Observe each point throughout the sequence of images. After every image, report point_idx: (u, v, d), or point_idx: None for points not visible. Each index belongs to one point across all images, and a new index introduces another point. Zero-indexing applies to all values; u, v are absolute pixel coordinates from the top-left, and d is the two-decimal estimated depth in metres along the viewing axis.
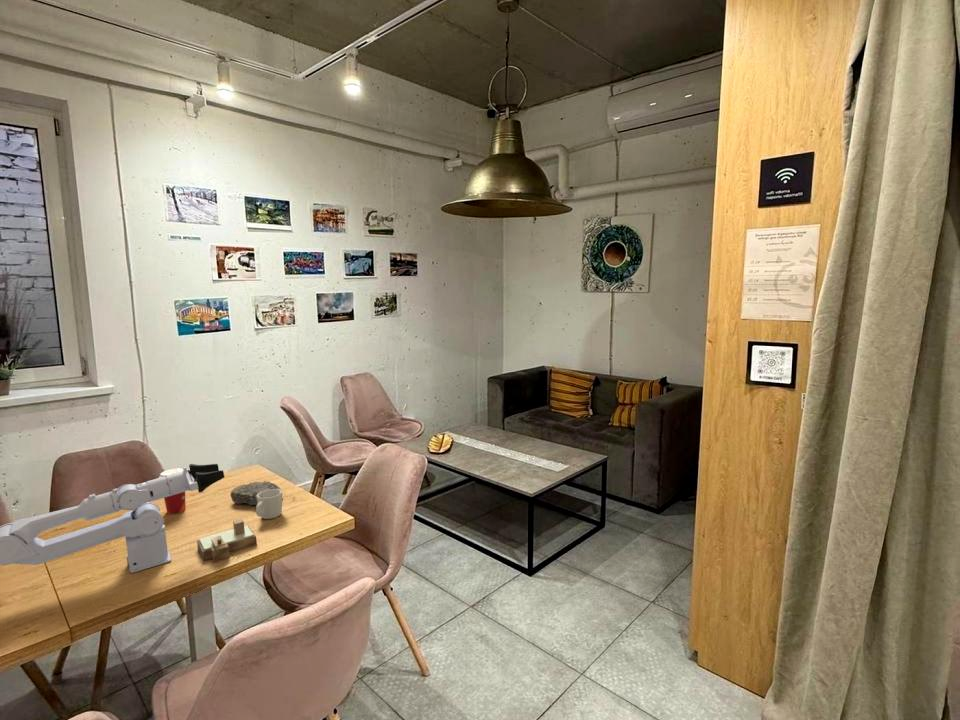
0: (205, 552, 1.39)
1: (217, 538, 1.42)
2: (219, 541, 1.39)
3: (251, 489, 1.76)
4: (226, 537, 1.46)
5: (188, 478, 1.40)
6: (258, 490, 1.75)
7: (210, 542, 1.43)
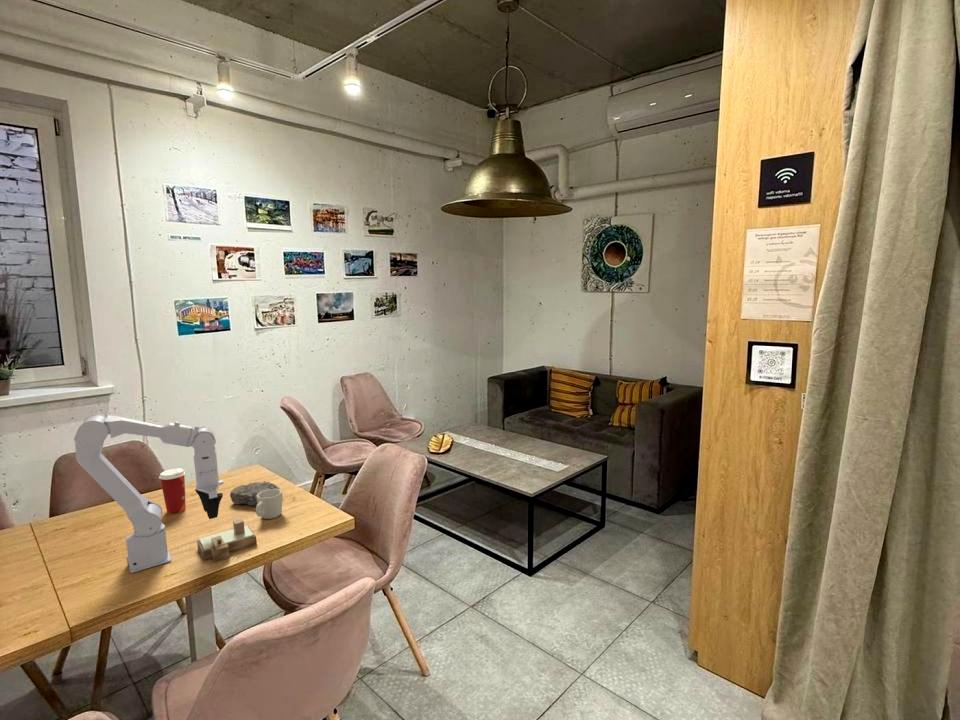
0: (205, 552, 1.39)
1: (217, 538, 1.42)
2: (219, 541, 1.39)
3: (250, 489, 1.76)
4: (226, 537, 1.46)
5: (217, 487, 1.43)
6: (258, 490, 1.74)
7: (210, 542, 1.43)
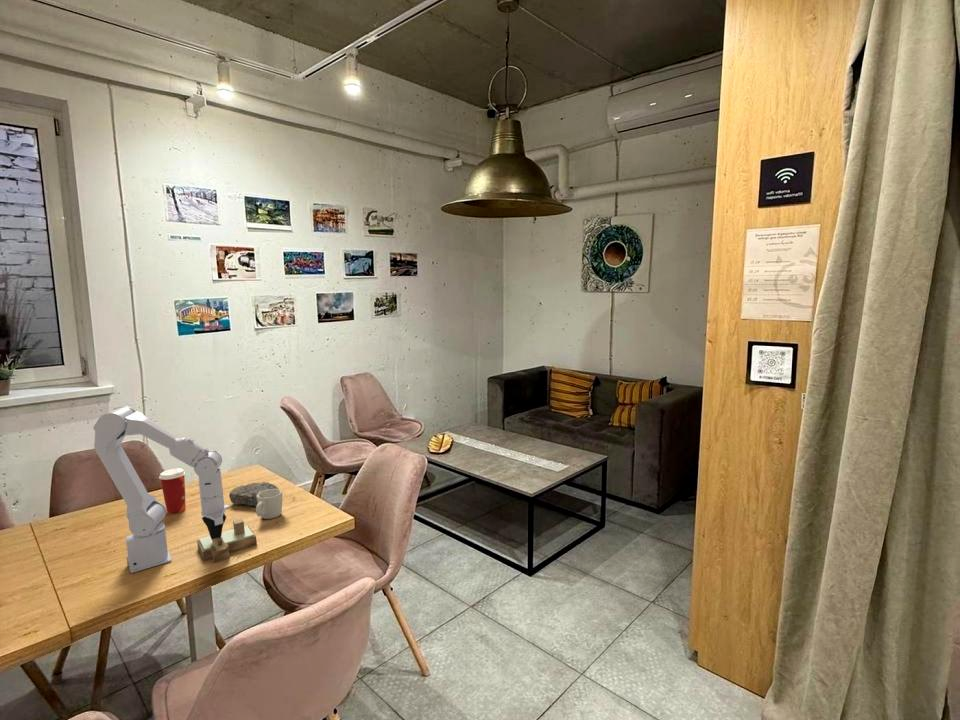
0: (205, 552, 1.39)
1: (218, 539, 1.41)
2: (220, 542, 1.38)
3: (250, 490, 1.75)
4: (226, 537, 1.46)
5: (223, 513, 1.40)
6: (257, 491, 1.74)
7: (210, 542, 1.43)
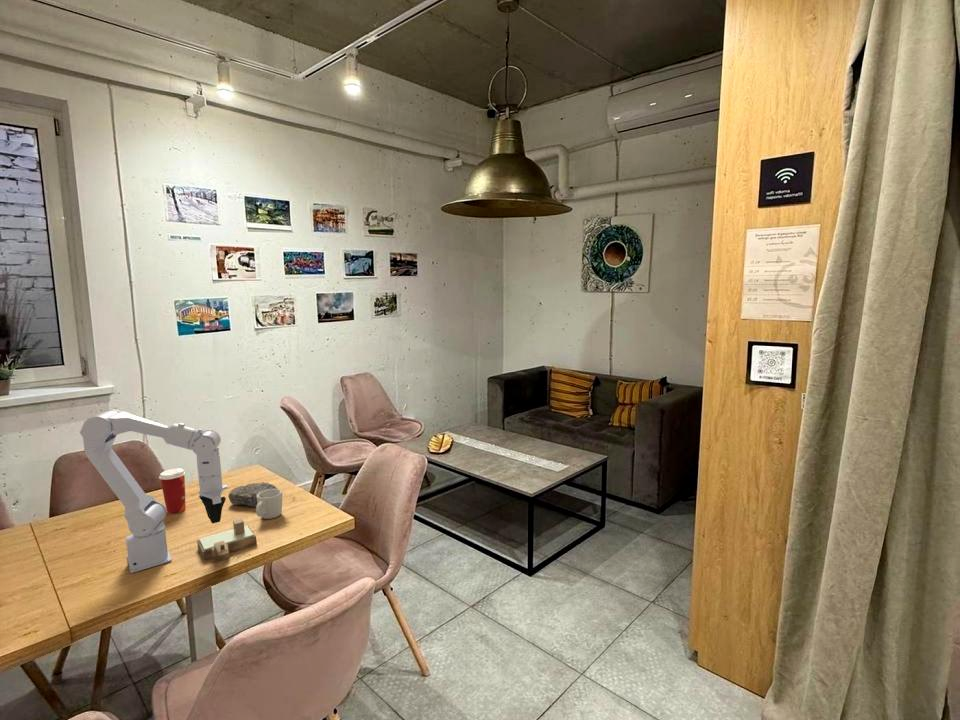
0: (205, 552, 1.39)
1: (220, 543, 1.39)
2: (222, 546, 1.36)
3: (249, 490, 1.75)
4: (226, 537, 1.46)
5: (221, 492, 1.39)
6: (257, 491, 1.74)
7: (210, 542, 1.43)
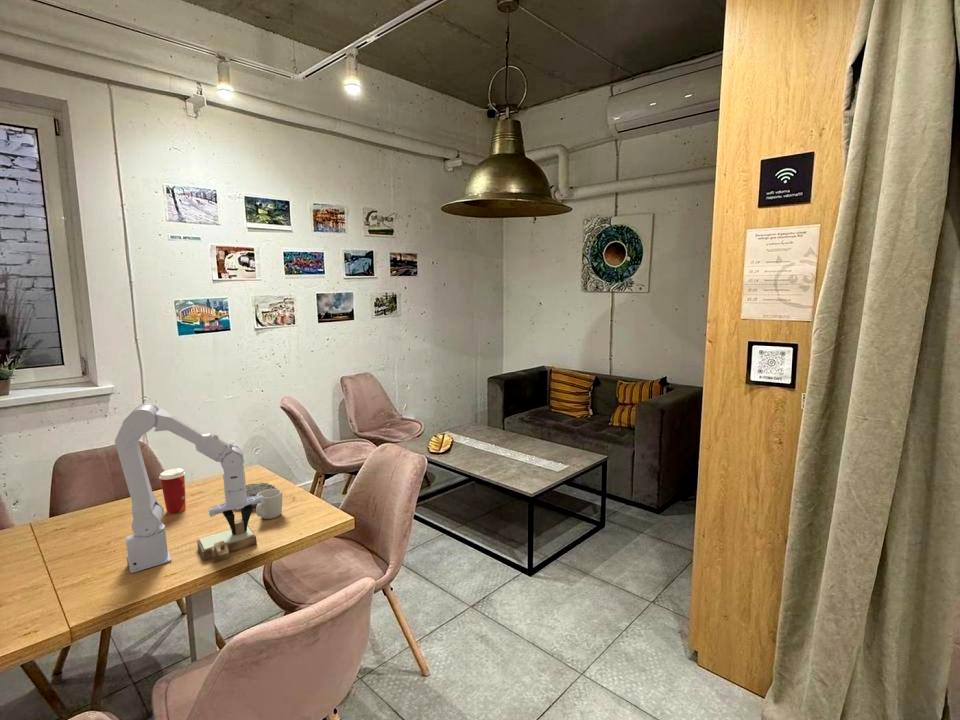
0: (205, 552, 1.39)
1: (220, 543, 1.39)
2: (222, 546, 1.36)
3: (249, 491, 1.75)
4: (226, 537, 1.46)
5: (222, 509, 1.43)
6: (256, 492, 1.73)
7: (210, 542, 1.43)
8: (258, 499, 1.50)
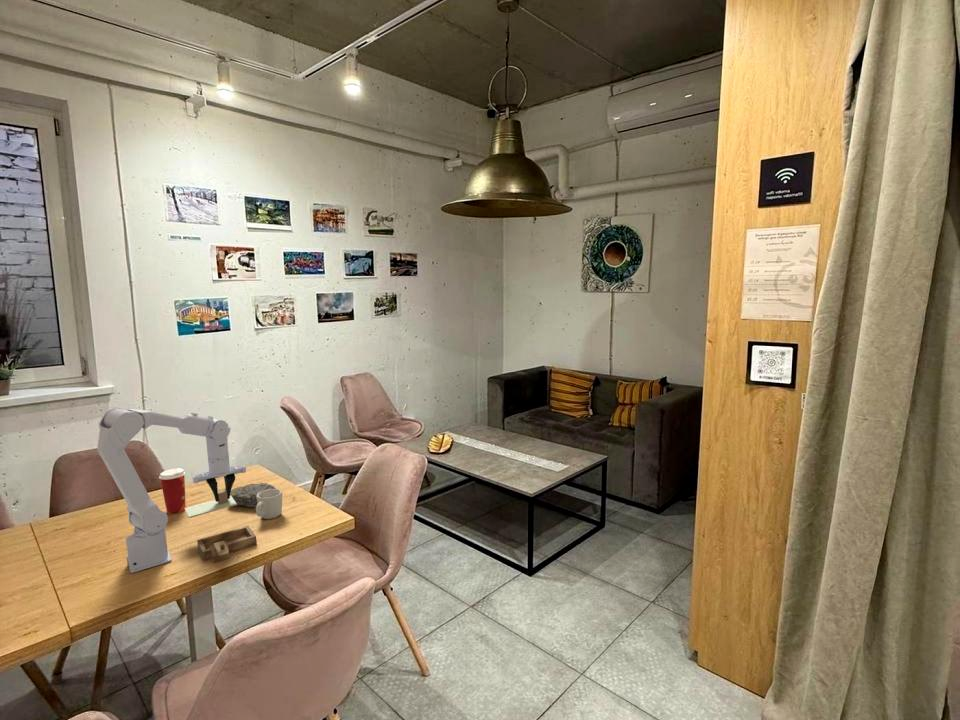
0: (205, 552, 1.39)
1: (220, 543, 1.39)
2: (222, 546, 1.36)
3: (248, 491, 1.74)
4: (210, 506, 1.52)
5: (206, 476, 1.50)
6: (256, 492, 1.73)
7: (194, 511, 1.50)
8: (241, 468, 1.57)
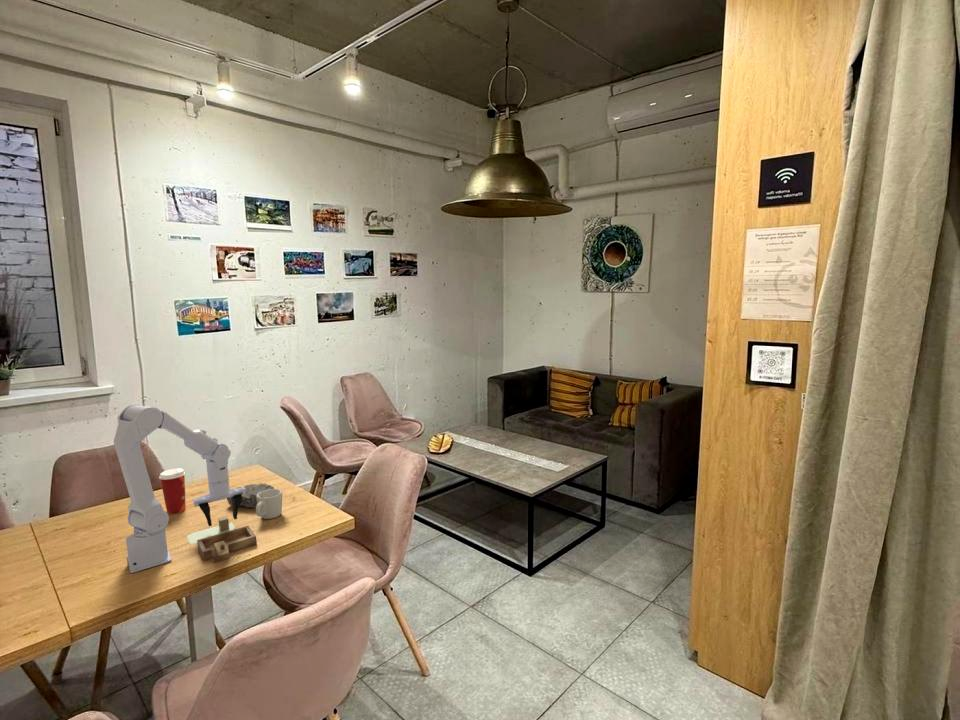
0: (205, 552, 1.39)
1: (220, 543, 1.39)
2: (222, 546, 1.36)
3: (248, 491, 1.74)
4: (211, 534, 1.55)
5: (206, 500, 1.52)
6: (255, 492, 1.73)
7: (196, 538, 1.52)
8: (240, 491, 1.59)
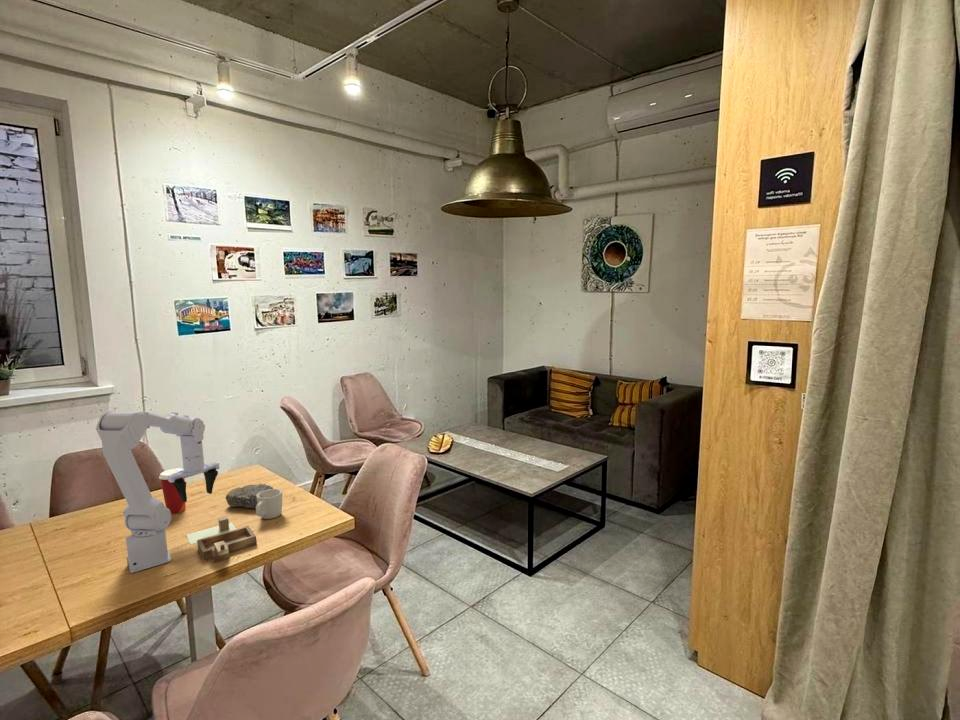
0: (205, 552, 1.39)
1: (220, 543, 1.39)
2: (222, 546, 1.36)
3: (247, 492, 1.74)
4: (211, 533, 1.55)
5: (182, 475, 1.52)
6: (255, 493, 1.72)
7: (196, 538, 1.52)
8: (214, 465, 1.60)
